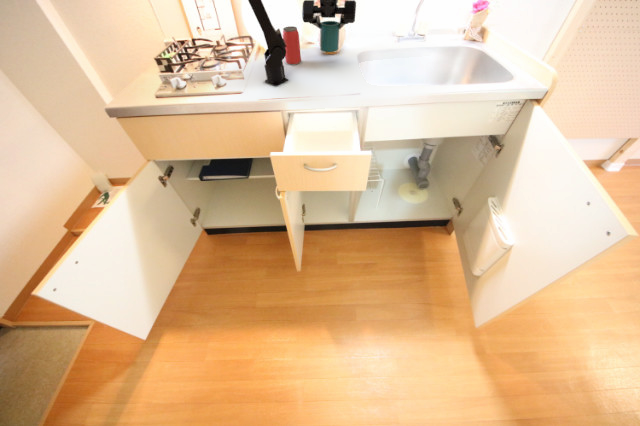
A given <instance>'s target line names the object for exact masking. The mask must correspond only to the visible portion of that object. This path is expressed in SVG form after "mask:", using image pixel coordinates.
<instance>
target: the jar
mask: <svg viewBox="0 0 640 426" xmlns="http://www.w3.org/2000/svg"><path fill="white" fill-rule="evenodd" d="M320 22H321V23H320V46H319V48H320V51H321V52H324V53H325V52H335V51H337V50H338V43H339V22H340V21H335V20H324V21H320ZM337 52H338V51H337Z"/></svg>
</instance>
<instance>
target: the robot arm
mask: <svg viewBox="0 0 640 426" xmlns="http://www.w3.org/2000/svg"><path fill="white" fill-rule="evenodd" d="M247 1H248V3H249V5H250V7H251V10H252V12H253V14H254V16H255V18H256V20H257V22H258V24H259V26H260V28H261V31H262V33H263V36H264V40H265V43H266V46H267V48H266V50H265V51H264V53H263V58H264V63H265V64H264V70H265V76H266V79H265V80H264V82H265V83H266V84H269V85H272V86H275V87H278V86H279V85H281V84H284V83H285V82H288V81H289V79H288V78H287V77H286V72H285V66H284V63H283V60H284V59H286V58H285V55H286V49H285V47H287V46H286V43H285V41H284V39H283V34H282V32H281V29H280V28H277V29H276V28H275V27H274V26H273V24H272V21H271V20H270V17H269V15H268V13H267V10H266V7H265V5H264V3H263V1H262V0H247ZM338 2H339V0H319V5H315V0H303V2H302V11H301V16H302V17H301V18H302V21H303V22H304V23H309V24H311V25H313V26H315V27H316V28H317V29H318V28H319V29H320V23H321V22H322V21H321V18H329V19H330V18H332V19H333V18H336V15H340V17H339V21H338V22H339V29H341V28H342V27H343V26H344V27H345V25H348V24H353V23H355V22H356V11H357V1H356V0H344V2H343V3H342V4H338ZM320 17H321V18H320Z"/></svg>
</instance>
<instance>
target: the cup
mask: <svg viewBox="0 0 640 426" xmlns="http://www.w3.org/2000/svg"><path fill="white" fill-rule="evenodd" d="M345 27H346V26H345V25H344V26H343V27H342V28H341V29H339V43H338V50H337V51H335V52H324V53H325V54H327V55H335V54H337V53H338V52H339V51H341V50H342V48H343V47H344V44H345V41H346V28H345ZM316 37H317V43H318V46H319V47H320V29H319V28H318V27H317V33H316Z"/></svg>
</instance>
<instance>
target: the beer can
mask: <svg viewBox="0 0 640 426" xmlns="http://www.w3.org/2000/svg"><path fill="white" fill-rule="evenodd" d="M282 30H283V31H282V38H283V39H284V41H285V43H286V46H287V47H285V49H286V55H285V58H284V59H285V63H286V64H288V65H298V64H300V63H301V62H302V56H301V43H300V34H299V30H298V27H297V26H285V27H284V28H282Z"/></svg>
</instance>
